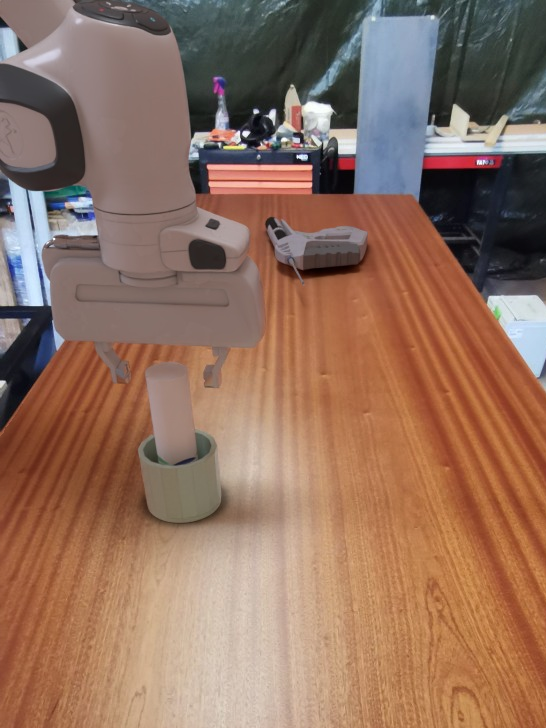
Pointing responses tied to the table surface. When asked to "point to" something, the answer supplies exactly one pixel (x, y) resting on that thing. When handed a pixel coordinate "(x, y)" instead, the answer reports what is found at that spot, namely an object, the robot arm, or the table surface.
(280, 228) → the power tool
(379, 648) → the table surface
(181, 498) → the pale green hollow cylinder
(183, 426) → the tube
